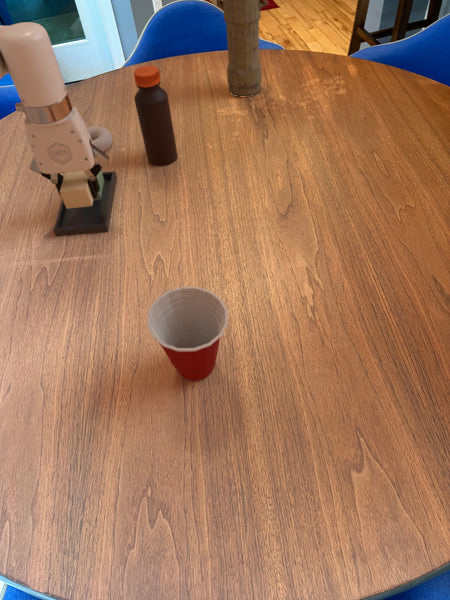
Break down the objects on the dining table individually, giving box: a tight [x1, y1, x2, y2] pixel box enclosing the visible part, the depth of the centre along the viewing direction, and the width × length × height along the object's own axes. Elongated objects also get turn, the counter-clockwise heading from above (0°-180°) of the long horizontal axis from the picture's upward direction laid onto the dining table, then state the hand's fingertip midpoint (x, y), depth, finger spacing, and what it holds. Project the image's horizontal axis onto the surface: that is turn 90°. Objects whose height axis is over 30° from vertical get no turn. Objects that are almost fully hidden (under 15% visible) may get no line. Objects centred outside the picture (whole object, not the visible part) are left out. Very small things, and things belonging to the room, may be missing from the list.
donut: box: [86, 125, 114, 153], centre depth 113 cm, size 10×4×10 cm
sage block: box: [93, 169, 104, 201], centre depth 100 cm, size 5×7×4 cm
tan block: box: [60, 171, 94, 209], centre depth 93 cm, size 5×7×4 cm
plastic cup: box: [146, 286, 229, 382], centre depth 67 cm, size 11×11×12 cm
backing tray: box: [53, 170, 118, 237], centre depth 98 cm, size 10×18×2 cm, turn 3°
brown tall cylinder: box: [216, 0, 267, 97], centre depth 115 cm, size 9×12×35 cm
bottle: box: [133, 65, 178, 167], centre depth 101 cm, size 7×7×20 cm
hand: (81, 194), depth 94 cm, fingers closed on tan block, 5 cm apart
